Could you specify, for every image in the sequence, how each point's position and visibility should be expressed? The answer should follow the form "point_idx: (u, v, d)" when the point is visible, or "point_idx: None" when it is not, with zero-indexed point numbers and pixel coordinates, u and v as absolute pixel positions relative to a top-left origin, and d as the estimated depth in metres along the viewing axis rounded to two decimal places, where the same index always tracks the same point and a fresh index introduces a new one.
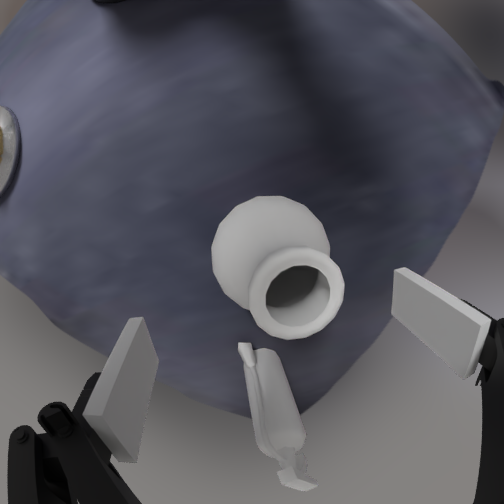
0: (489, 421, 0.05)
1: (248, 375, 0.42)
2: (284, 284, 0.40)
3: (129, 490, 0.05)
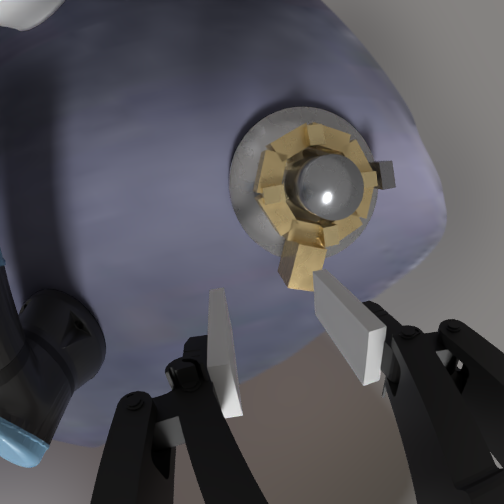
0: (409, 439, 0.06)
1: None
2: None
3: None
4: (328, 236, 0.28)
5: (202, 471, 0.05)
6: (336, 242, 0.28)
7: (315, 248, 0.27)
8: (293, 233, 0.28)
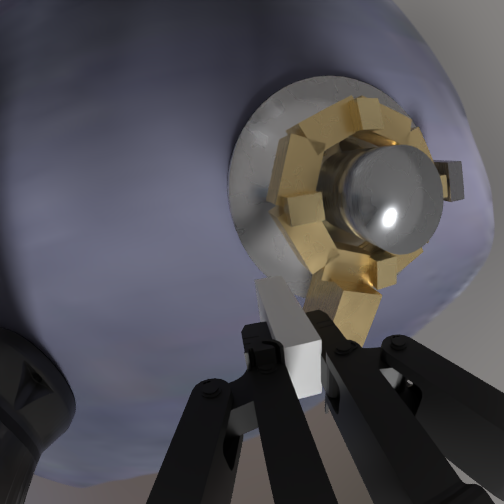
0: (360, 458, 0.06)
1: None
2: None
3: None
4: (383, 273, 0.17)
5: (271, 452, 0.05)
6: (392, 281, 0.17)
7: (366, 294, 0.16)
8: (331, 269, 0.18)
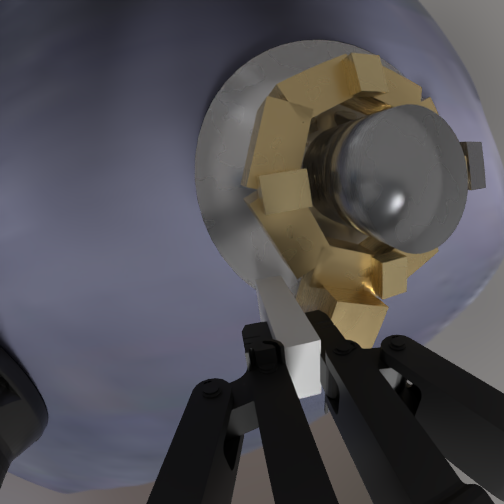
0: (360, 458, 0.06)
1: None
2: None
3: None
4: (390, 279, 0.13)
5: (272, 452, 0.05)
6: (402, 289, 0.13)
7: (368, 307, 0.12)
8: (322, 273, 0.14)
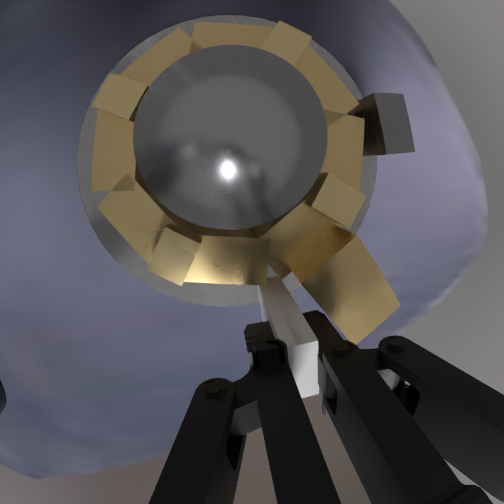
0: (358, 459, 0.06)
1: None
2: None
3: None
4: (335, 207, 0.11)
5: (275, 451, 0.05)
6: (358, 200, 0.11)
7: (335, 257, 0.11)
8: (278, 261, 0.13)
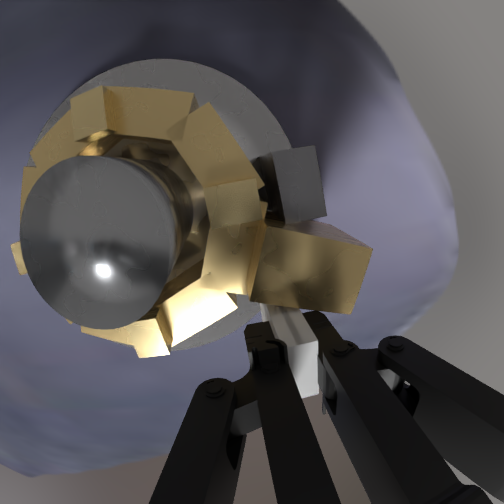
0: (358, 459, 0.06)
1: None
2: None
3: None
4: (234, 212, 0.11)
5: (275, 451, 0.05)
6: (250, 187, 0.10)
7: (262, 259, 0.10)
8: (231, 283, 0.13)
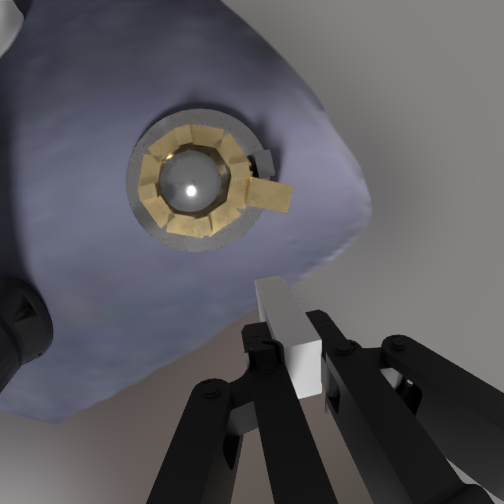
0: (360, 458, 0.06)
1: None
2: None
3: None
4: (240, 173, 0.29)
5: (271, 452, 0.05)
6: (246, 164, 0.29)
7: (250, 188, 0.29)
8: (238, 203, 0.31)
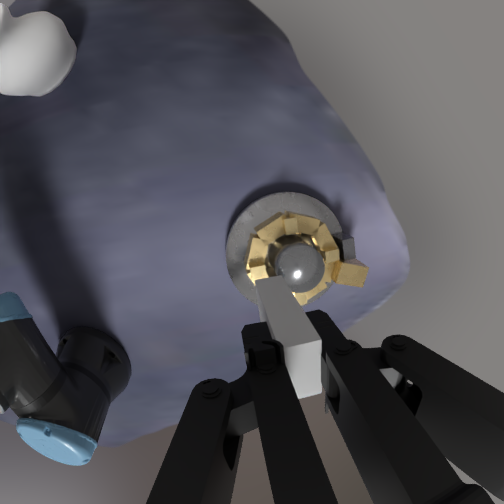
0: (360, 458, 0.06)
1: None
2: None
3: None
4: (332, 258, 0.37)
5: (271, 452, 0.05)
6: (337, 251, 0.37)
7: (340, 271, 0.37)
8: (326, 278, 0.39)
